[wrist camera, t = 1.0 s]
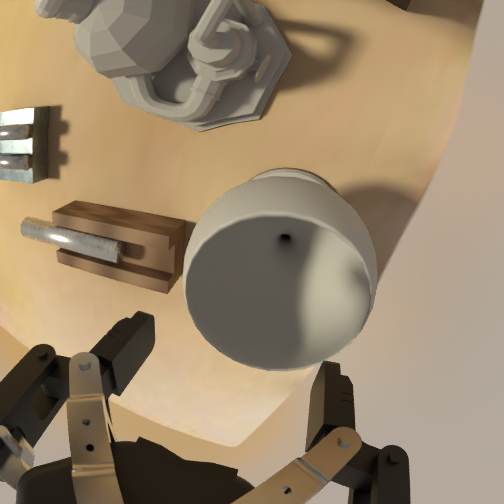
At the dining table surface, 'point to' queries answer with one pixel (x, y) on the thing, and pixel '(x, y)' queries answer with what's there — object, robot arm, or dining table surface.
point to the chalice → (280, 272)
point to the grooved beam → (127, 244)
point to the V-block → (24, 144)
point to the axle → (74, 240)
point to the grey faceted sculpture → (181, 54)
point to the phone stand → (400, 3)
